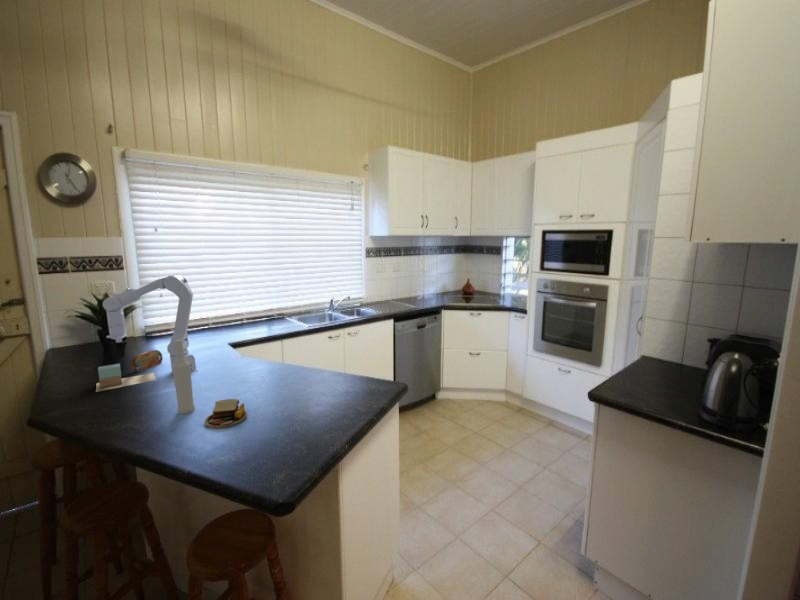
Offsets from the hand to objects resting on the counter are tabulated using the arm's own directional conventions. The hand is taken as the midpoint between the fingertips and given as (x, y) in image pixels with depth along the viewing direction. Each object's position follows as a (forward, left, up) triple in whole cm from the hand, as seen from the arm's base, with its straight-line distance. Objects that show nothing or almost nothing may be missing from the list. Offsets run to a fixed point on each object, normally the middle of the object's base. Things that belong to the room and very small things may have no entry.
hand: (121, 355), depth 162 cm
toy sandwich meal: (-73, +20, -11) cm, 76 cm away
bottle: (-55, +19, -11) cm, 59 cm away
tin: (+1, -12, -11) cm, 16 cm away
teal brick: (-4, +8, -6) cm, 11 cm away
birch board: (-8, +4, -10) cm, 14 cm away
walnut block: (-4, +8, -9) cm, 13 cm away
